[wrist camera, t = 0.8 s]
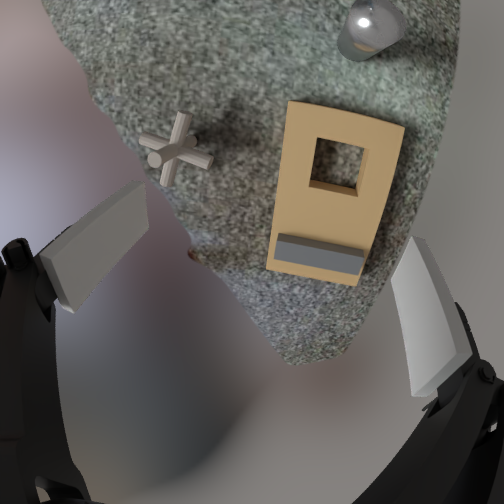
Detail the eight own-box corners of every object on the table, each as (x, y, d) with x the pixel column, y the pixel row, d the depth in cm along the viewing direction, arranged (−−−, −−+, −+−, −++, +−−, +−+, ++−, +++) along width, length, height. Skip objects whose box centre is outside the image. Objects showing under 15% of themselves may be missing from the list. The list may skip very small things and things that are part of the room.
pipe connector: (235, 120, 33) (207, 132, 25) (212, 184, 39) (183, 214, 31) (170, 99, 33) (128, 106, 24) (154, 160, 38) (114, 183, 30)
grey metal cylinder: (338, 27, 23) (352, -10, 12) (373, 35, 22) (407, 6, 11) (335, 57, 25) (348, 35, 14) (370, 65, 25) (404, 51, 14)
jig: (290, 100, 30) (286, 101, 26) (398, 124, 28) (410, 130, 24) (269, 257, 44) (263, 277, 40) (354, 274, 42) (356, 295, 38)
